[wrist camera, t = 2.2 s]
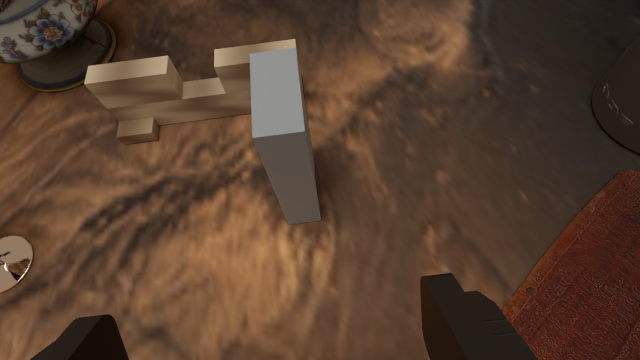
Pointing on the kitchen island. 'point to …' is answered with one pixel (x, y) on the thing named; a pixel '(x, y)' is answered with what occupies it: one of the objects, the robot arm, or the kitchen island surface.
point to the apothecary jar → (53, 41)
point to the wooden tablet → (587, 283)
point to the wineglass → (14, 260)
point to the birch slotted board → (174, 91)
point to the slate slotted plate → (284, 133)
